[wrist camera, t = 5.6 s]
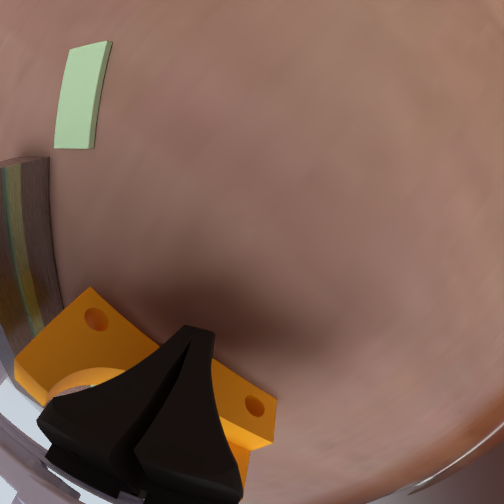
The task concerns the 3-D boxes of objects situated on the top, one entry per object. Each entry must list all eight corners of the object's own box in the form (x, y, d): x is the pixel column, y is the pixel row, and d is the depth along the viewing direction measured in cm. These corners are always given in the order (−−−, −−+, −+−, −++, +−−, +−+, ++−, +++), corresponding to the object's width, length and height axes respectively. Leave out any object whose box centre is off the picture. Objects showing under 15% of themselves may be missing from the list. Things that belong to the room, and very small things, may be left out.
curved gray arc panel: (51, 347, 16) (15, 388, 11) (19, 157, 10) (-49, 175, 6) (81, 363, 16) (46, 410, 11) (52, 157, 10) (-27, 177, 6)
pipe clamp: (277, 397, 14) (267, 496, 8) (230, 420, 16) (212, 502, 10) (102, 264, 12) (14, 339, 6) (79, 310, 14) (14, 378, 8)
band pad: (59, 147, 10) (53, 148, 10) (75, 51, 8) (69, 49, 8) (93, 148, 10) (88, 148, 9) (112, 42, 8) (107, 40, 8)
